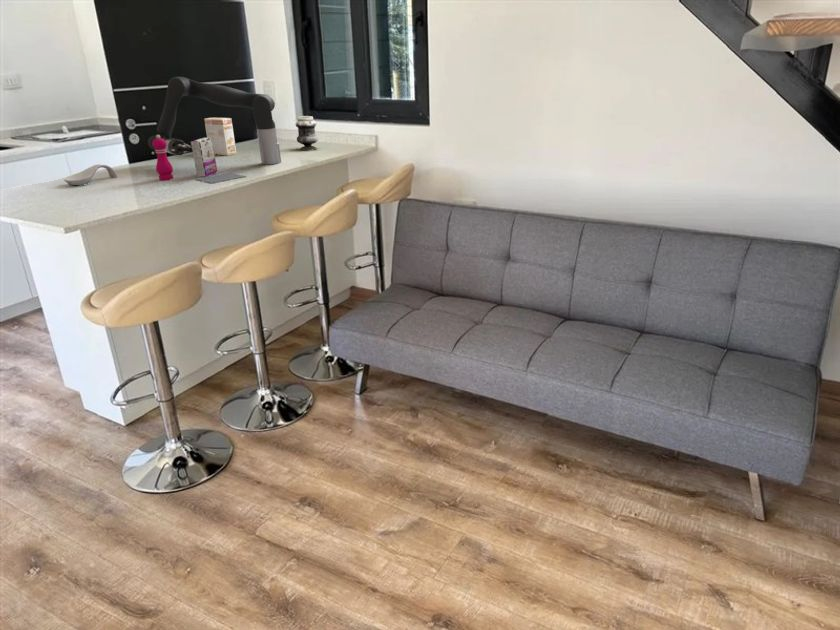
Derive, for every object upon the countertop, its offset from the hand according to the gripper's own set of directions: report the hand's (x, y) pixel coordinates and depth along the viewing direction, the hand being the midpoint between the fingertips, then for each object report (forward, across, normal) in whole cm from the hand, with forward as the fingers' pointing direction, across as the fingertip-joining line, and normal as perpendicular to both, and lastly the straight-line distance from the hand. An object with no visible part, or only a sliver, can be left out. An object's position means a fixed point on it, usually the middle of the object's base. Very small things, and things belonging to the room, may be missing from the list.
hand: (192, 149), depth 296 cm
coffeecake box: (-39, +38, +11) cm, 56 cm away
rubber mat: (+24, -1, +11) cm, 26 cm away
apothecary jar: (-10, +76, +11) cm, 77 cm away
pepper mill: (+3, -17, +11) cm, 20 cm away
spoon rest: (-21, -41, +11) cm, 48 cm away
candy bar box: (+10, 0, +11) cm, 15 cm away
